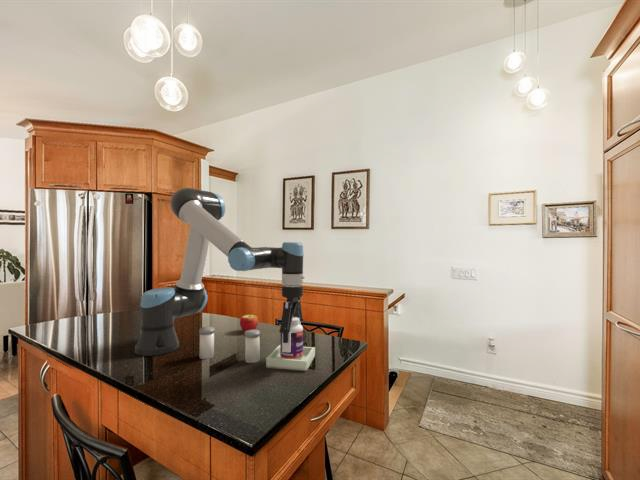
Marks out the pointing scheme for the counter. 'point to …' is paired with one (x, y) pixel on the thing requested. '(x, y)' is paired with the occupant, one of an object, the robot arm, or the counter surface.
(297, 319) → the pill bottle
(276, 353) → the tray
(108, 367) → the counter surface
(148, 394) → the counter surface
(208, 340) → the canister
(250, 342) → the canister
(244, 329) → the apple
